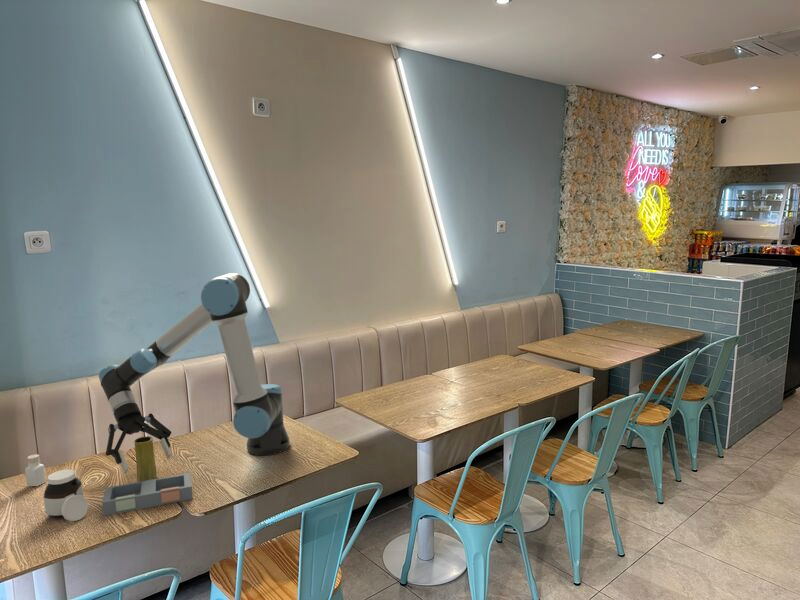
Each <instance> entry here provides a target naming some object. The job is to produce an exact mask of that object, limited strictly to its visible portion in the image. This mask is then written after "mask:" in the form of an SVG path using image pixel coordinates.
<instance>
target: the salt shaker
mask: <svg viewBox="0 0 800 600" xmlns="http://www.w3.org/2000/svg"><path fill="white" fill-rule="evenodd" d="M40 462H41V459H40V455H39V453H38V454H35V453H34V454H31V455H28V456H27V464H28V466H27V467H25V468H24V469H25V470H24V471H25V477H26V478H25V479H26V486H27V487H30V486H38V487H40V486H41V484H42V485H43V484H45V483H46V482H47V478H46V477H47V476H46V471H45V464H43V463H40ZM39 485H40V486H39Z"/></svg>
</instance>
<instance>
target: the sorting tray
mask: <svg viewBox="0 0 800 600" xmlns="http://www.w3.org/2000/svg"><path fill="white" fill-rule="evenodd" d="M157 478H158V477H157ZM189 500H193V487H192V474H191V472H189V473H182V474H176V475H171V476H165V477H159V478H158V479H152V480H146V481H141V482H137V481H135V482H129V483H124V484H118V485H113V486H108V487H107V486H106V487H105V488H104V491H103V497H102V501H101V509H102V516H103V517H104V516H111V515H115V514H121V513H125V512H131V511H137V510H140V509H148V508H152V507H158V506H163V505H169V504H174V503H179V502H184V501H189Z"/></svg>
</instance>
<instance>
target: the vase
mask: <svg viewBox="0 0 800 600" xmlns="http://www.w3.org/2000/svg"><path fill="white" fill-rule="evenodd" d="M153 441H154V440H153V436H141V437H138V438H136V439H134V442H133V443H134V450H135V461H136V463H135V465H136V479H137V480H136V482H141V481H146V480H152V479H158V475H157V473H158V472H157V466H156V457H155V451H154V450H155V449H154V444H153V443H154V442H153Z"/></svg>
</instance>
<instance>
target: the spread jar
mask: <svg viewBox="0 0 800 600" xmlns="http://www.w3.org/2000/svg"><path fill="white" fill-rule="evenodd" d="M47 482H48V484H47V485H46V488H45V490H44V492H43V503H44V511H45V514H46V515H47V516H48V517H49V518H52V519H55V520H61V518H63V519H65V520H67V521H69V522H75V521H79V520H81V519H83V518H84V517H85V516H86V514H87V512H88V509H89V503H88V500H87V499H86V497H84V490H83V489H84V488H83V484H82V480H81V479H80V478H78V477H76V471H75V470H74V469H62V470H57V471H55V472H52V473H50V474H49V475H48V476H47Z"/></svg>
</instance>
